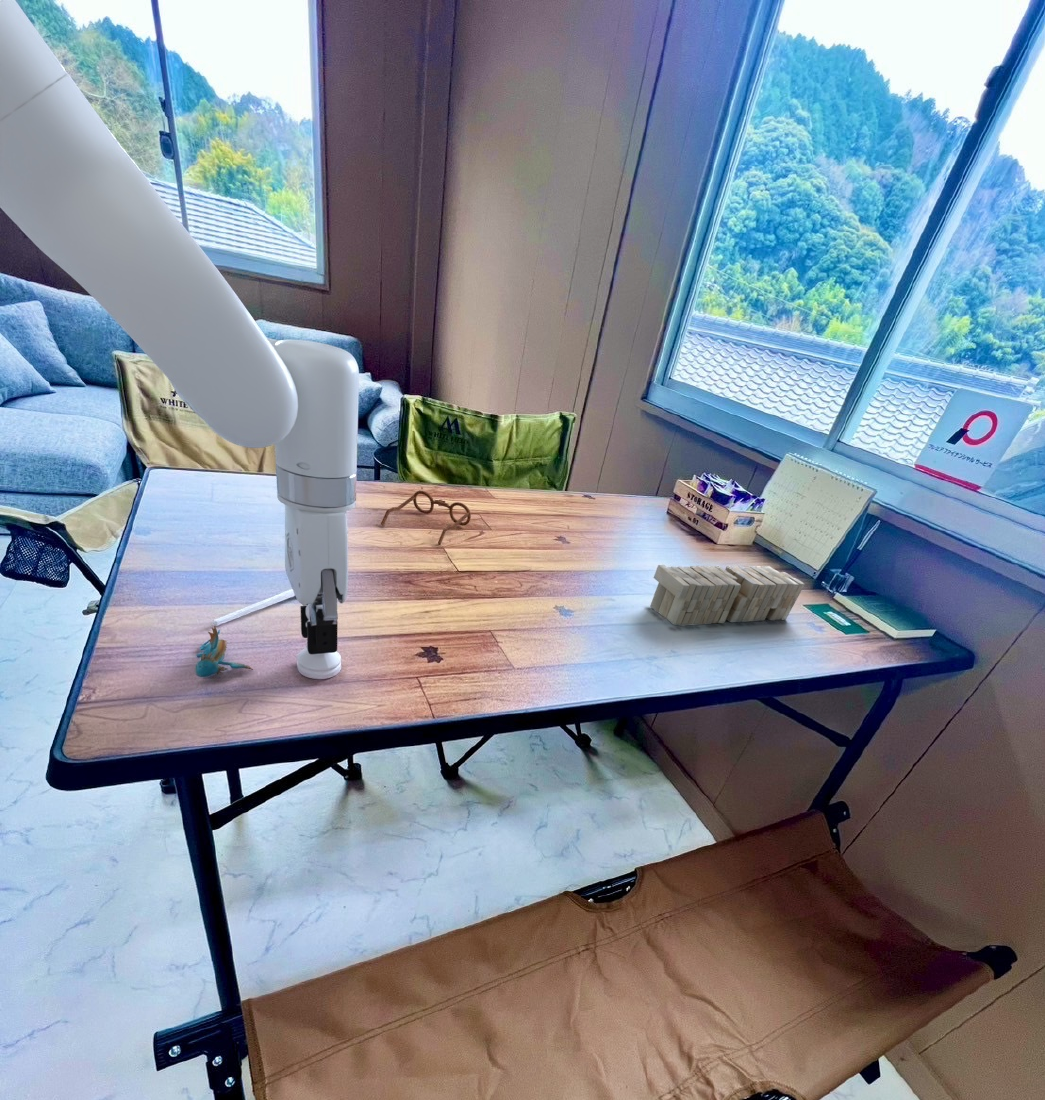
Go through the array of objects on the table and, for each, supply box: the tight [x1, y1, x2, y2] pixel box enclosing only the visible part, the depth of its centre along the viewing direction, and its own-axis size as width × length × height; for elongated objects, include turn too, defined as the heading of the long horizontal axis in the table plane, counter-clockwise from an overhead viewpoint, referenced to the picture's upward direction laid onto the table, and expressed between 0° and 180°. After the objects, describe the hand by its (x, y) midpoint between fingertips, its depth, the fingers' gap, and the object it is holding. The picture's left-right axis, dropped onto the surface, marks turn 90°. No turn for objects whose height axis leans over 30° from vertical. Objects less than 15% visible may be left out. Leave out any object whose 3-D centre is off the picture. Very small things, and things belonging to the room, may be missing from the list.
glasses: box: [380, 490, 472, 546], centre depth 115 cm, size 13×13×5 cm
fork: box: [212, 588, 296, 627], centre depth 81 cm, size 3×20×2 cm, turn 150°
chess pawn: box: [296, 604, 342, 680], centre depth 68 cm, size 5×5×9 cm
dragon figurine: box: [194, 625, 254, 678], centre depth 67 cm, size 6×7×8 cm
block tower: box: [649, 564, 806, 627], centre depth 106 cm, size 8×8×29 cm
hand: (319, 642), depth 68 cm, fingers closed on chess pawn, 2 cm apart
